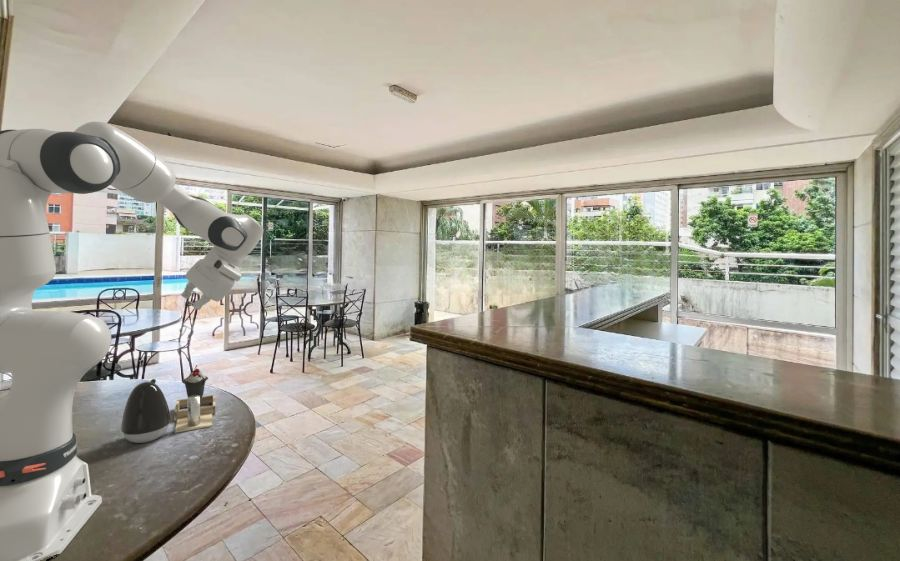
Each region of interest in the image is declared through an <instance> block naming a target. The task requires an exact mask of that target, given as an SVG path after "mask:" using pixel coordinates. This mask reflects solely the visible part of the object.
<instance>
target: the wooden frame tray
mask: <svg viewBox="0 0 900 561" xmlns="http://www.w3.org/2000/svg"><path fill="white" fill-rule="evenodd" d="M209 403H211V404H212V405H210V404H209ZM203 405H208V406H203ZM201 406H203V407H201ZM200 407H201V408H200ZM184 408H186V409H184ZM180 409H183V410H180ZM213 415H216V394H212V395H203V396H202V397H201V398H200V396H199V395H193V396H189V397H188V396H187V397H186V398H181V399H177V400H176V404H175V407H174V411H173V420H174V421H175V422H176V423H175V429H174V433H175V434H177V433H182V432H188V431H194V430H199V429H205V428H209V427H212V426H213Z"/></svg>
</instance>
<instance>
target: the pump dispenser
mask: <svg viewBox="0 0 900 561" xmlns="http://www.w3.org/2000/svg"><path fill="white" fill-rule="evenodd" d="M156 382H157V380H156V379H155V378H153V379H151V380H150V381H144V382H141V383H139V384H137V385H136V386H135V387H134V388H133V389H132V390H131V392H130V394H129V396H128V398H127V401H126V403H125V407H124V410H123V413H122V418H121V428H120V430H121V432H122V433H123V435H124V437H125V438H126V440H127V441H128V442H131V443H136V444H143V443H144V444H146V443H150V442H153V441H155V440H157V439H159V438H160V437H161V436H163V435H164V434H165V433H166V431H167V430H168V428H169V425H170V423H171V413H170V409H169V405H168V401H167V400H166V397H165V395H164V392H163V391H162V389H161V388H160V387H159V385H157V384H156Z"/></svg>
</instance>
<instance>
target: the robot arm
mask: <svg viewBox="0 0 900 561" xmlns="http://www.w3.org/2000/svg"><path fill="white" fill-rule="evenodd" d="M176 181H177V179H176V172H175V171H174V170H173V168H172V167H170V166H169V164H167V163H166V162H165V161H164V159H163V158H161V156H159V155H158V154H156V153H155V152H154V151H153V150H151V149H150V148H149V147H147V146H146V145H145V144H143V143H142V142H140V141H139V140H137V139H136V138H134V137H133V136H131V135H129V134H128V133H126V132H124V131H123V130H121V129H119V128H118V127H115V126H113V125H112V124H109V123H108V122H107V123H106V122H103V121H91V122H86V123H84V124H82V125H80V126H79V127H77V128H76V129H75V130H74V131H57V130H48V129H45V128H44V129H43V128H25V129H24V128H23V129H4V130H0V374H3V373H4V374H11V376H12V378H11V379H12V381H11V386H10V388H9V391H8V393H7V394H6V395H3V396H1V397H0V561H40V560H43V559H44V558H46V557H49V556H53V555H56V554H59V555H61V554H62V553H63V551H64V550H65V549H66V547H68V545H69V544H70V543H71V541H73V539H74V538H75V536H76V535H77V534H78V533H79V532H80V531H81V529H82V527H84V525H85V524H86V523H87V521H88V520H89V519H90V518H91V517H92V515H94V513H95V512H96V511H97V509H98V508H99V506H100V505H101V504H102V503H103V498H102V496H101V495H98V494H92V489H91V481H90V472H89V464H88V463H87V462H85V461H83V460H81V459H80V458H79V457H78V456H77V453H78V448H77V447H78V441H77V436H76V434H75V433H73V432H74V431H73V401H74V396H75V391H76V389H77V386H78V384H80V382H81V379H82V378H83V377H84V376H85V374H87V372H88V371H89V370H91V369H92V368H93V367H95V366H97V365H98V364H99V363H100V362H101V361H103V359H104V358H105V357H106V356H107V354H108V352H109V350H110V348H111V345H112V334H111V333H112V332H111V330H110V328H109V325H108V324H107V323H106V321H104V320H103V319H102V318H99V317H97V316H93V315H88V314H84V313H80V312H79V313H78V312H73V311H55V310H53V311H45V310H44V311H39V310H38V311H37V310H34V309H33V305H32V303H33V297H34V294H35V292H36V291H37V289H38V290H39V289H40V288H42V287H45V285H47V284H49V283H50V282H51V281H52V280H53V279H54V278H55V277H56V276H55V275H56V273H57V266H56V260H55V253H54V250H53V244H52V243H53V242H52V238H51V233H50V231H51V230H50V227H49V222H48V220H47V214H46V206H47V202H48V199H49V198H50V196H51V195H52V194H60V195H61V194H79V195H86V194H94V193H97V192H100V191H102V190H105V189H106V188H108V187H110V186H111V187H113V188H114V189H116V190H117V191H119V192H121V193H123V194H125V195H126V196H128V197H130V198H133V199H135V200H137V201H140V202H143V203H145V204H152V203H158V204H159V205H160V206H162V207H164V208H165V209H166V210H168V211H170V212H171V213H172V215H173V216H174V218H175V220H176V221H177V223H178V224H179V225H180V226H181V227H182V228H183V229H185V230H188V231H189V232H191V233H193V234H194V235H196V236H197V237H199V238H201V239H202V240H203V241H205V242H207V243H209V244H210V245H213V246H212V248H211V249H210V250H209V251H208V253H207V254H206V255H205V256H204V257H203V258H200V259H199V260H197V261H196V262H195V263H194V264H193V265H192V266H191V268H189V270H188V271H187V272H186V274H185V276H184V278H185V279H186V280H187V281H188V282H187V283H186V286H185V287H184V290H183V291H182V293H181V297H182V298H184V299H186V300H188V299H189V298H190V297H191V296H192V294H193V291H194V290H195V289H198V290H199V291H200V292H201V293H202V295H200V298H198V300H195V301H194V302H193V303H192V308H194V309H195V310H197V311H200V310H201V308H202V307H203V306H204V305H206V304H209V302H210V301H211V300H212V301H214V302H216V303H218V302H220V301H221V300H223V299H224V298H225V297H226V295H227V294H228V293H229V292H230V291H231V290H232V289H233V287H234V285H235V283H236V282H239V281H240V279H241V278H242V276H243V275H242V273H241V270H240V269H241V268H240V267H241V265H242V264H243V262H244V260H245V258H246V257H247V256H248V255H249V254H250V253H252V251H253V250H254V249H255V247H256V246H257V245H258V243H259V242H260V240H261V239H262V237H263V234H264V227H263V226H262V224H261V223H260V222H259V221H258V220H257V219H255V218H254V217H252V216H251V215H250V214H248V213H243V214H234V213H230V212H226V211H224V210H223V209H221V208H219V207H217V206H216V205H213V203H211V202H209V200H207V199H205V198H203V197H200V196H195V195H190V194H188V193H186V192H185V191H184V190H183V189H181V188H180V187H179V186H178V185H176Z"/></svg>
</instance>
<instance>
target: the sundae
mask: <svg viewBox="0 0 900 561" xmlns="http://www.w3.org/2000/svg"><path fill="white" fill-rule="evenodd" d="M208 380H209V377H207V376H206V375H205V374H204V373H203V372H202V371H201V370H200V369H199V368H198V365H197V364H196V365H195V368H194V370H192V371H191V372H190V373H189V375H188V376H187V377H185V378H184V379H183V380H181V383H182V384H184V385H185V391H186V395H187V398H188V397H189V396H193V395H199V396H200V398H201V397H203V396H204V392H205V385H206V381H208ZM200 408H201V406H200Z"/></svg>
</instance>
